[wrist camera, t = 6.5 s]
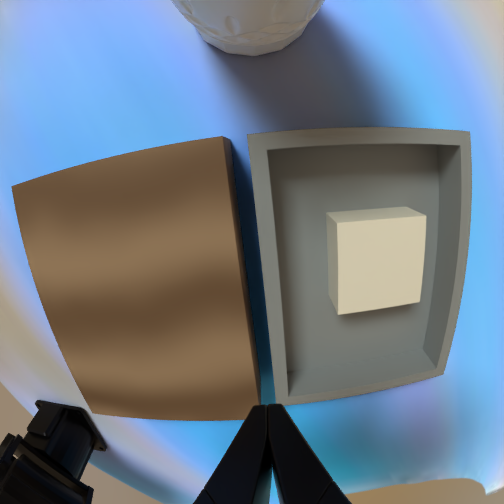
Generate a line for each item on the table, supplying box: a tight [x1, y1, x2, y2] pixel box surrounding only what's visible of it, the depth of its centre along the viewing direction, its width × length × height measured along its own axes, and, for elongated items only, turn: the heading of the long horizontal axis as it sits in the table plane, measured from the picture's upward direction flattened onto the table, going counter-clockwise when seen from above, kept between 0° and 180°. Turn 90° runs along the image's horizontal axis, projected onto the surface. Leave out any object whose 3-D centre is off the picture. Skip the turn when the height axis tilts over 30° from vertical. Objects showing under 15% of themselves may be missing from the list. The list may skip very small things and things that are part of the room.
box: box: [247, 127, 472, 406], centre depth 17 cm, size 16×12×3 cm
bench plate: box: [12, 136, 261, 421], centre depth 17 cm, size 16×12×4 cm
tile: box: [326, 207, 426, 315], centre depth 16 cm, size 5×5×2 cm
